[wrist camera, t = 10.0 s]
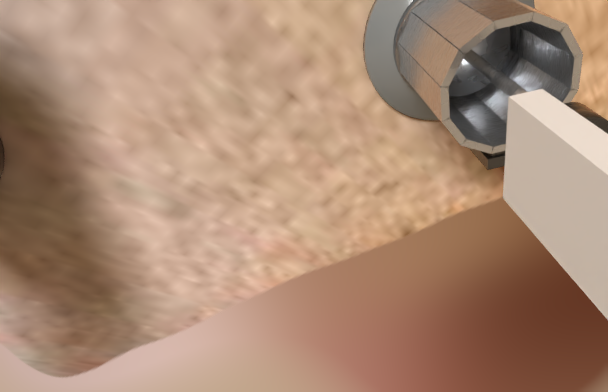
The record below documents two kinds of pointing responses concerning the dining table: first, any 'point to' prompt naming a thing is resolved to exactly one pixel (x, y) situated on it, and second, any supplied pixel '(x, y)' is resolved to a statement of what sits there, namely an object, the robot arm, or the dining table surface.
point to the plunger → (500, 73)
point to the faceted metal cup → (519, 67)
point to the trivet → (392, 59)
